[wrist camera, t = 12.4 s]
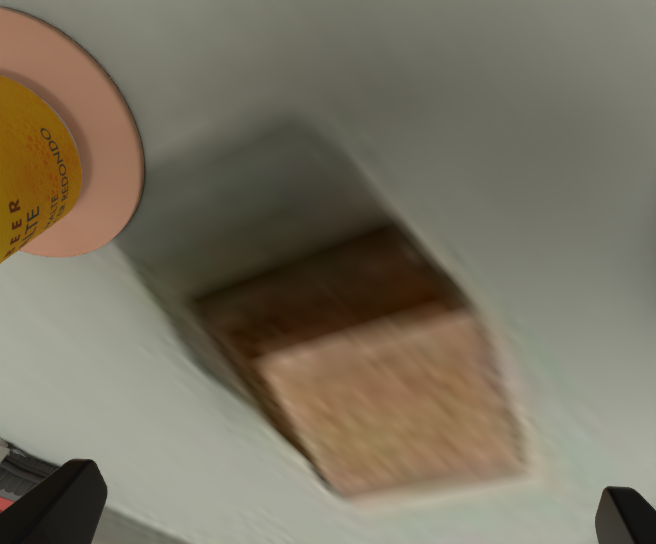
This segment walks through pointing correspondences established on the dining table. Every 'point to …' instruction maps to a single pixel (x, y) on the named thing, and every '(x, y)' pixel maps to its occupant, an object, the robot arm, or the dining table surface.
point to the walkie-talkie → (18, 475)
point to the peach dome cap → (78, 131)
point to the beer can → (33, 167)
